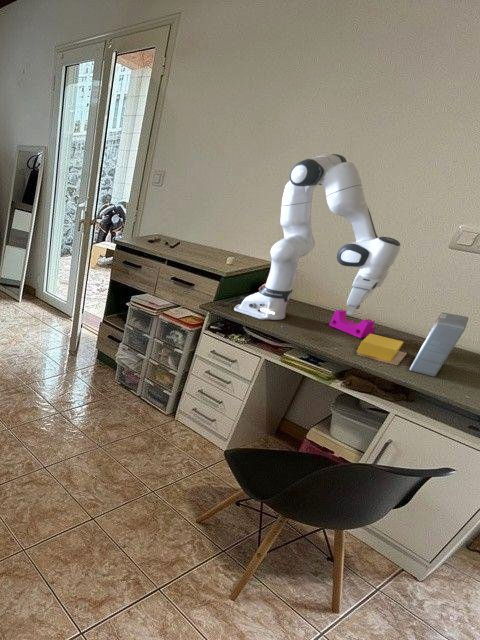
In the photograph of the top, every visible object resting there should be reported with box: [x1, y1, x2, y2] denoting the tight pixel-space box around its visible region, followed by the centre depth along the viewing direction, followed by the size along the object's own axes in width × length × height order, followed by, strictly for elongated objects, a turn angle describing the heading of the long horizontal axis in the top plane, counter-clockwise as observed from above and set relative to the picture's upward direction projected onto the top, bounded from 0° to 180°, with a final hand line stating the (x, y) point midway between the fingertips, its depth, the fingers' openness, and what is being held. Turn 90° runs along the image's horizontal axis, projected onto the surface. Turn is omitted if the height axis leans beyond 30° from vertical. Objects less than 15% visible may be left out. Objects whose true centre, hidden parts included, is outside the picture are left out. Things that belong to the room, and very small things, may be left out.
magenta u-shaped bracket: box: [328, 309, 377, 339], centre depth 193 cm, size 15×6×8 cm, turn 12°
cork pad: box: [355, 350, 408, 367], centre depth 175 cm, size 13×16×1 cm
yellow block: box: [356, 333, 404, 361], centre depth 175 cm, size 5×12×11 cm
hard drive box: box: [409, 311, 469, 377], centre depth 160 cm, size 16×8×20 cm, turn 131°
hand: (352, 311), depth 178 cm, fingers open, 8 cm apart
